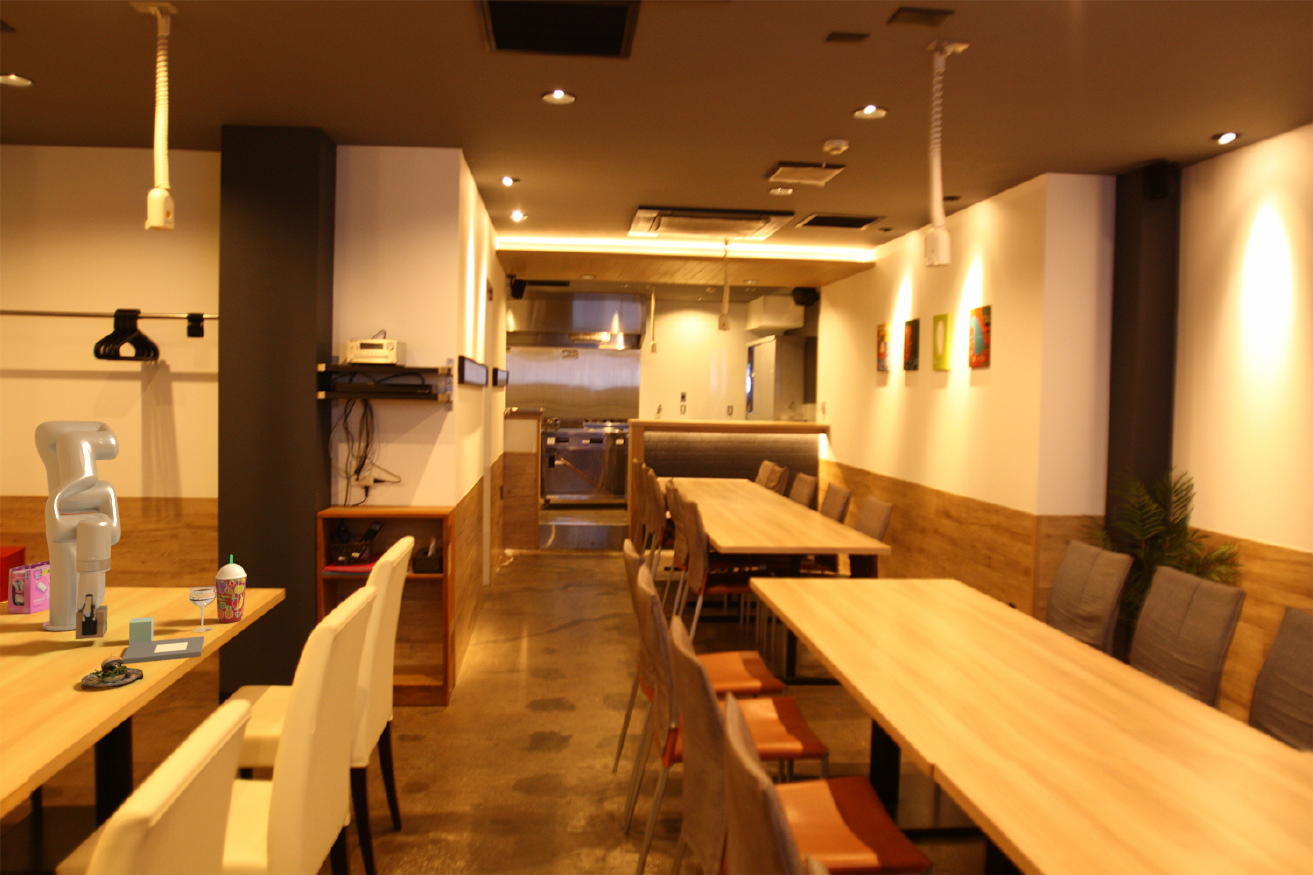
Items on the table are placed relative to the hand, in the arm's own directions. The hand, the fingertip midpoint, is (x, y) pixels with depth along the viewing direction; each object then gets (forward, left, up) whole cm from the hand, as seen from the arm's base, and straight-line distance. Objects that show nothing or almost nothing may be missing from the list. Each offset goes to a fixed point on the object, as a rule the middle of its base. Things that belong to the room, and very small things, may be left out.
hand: (91, 630), depth 208 cm
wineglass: (-5, +25, -4) cm, 26 cm away
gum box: (-53, -19, -4) cm, 56 cm away
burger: (+36, +9, -4) cm, 38 cm away
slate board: (+15, +18, -4) cm, 24 cm away
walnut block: (0, 0, -1) cm, 1 cm away
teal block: (+2, +11, -4) cm, 12 cm away
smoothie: (-13, +32, -4) cm, 35 cm away
